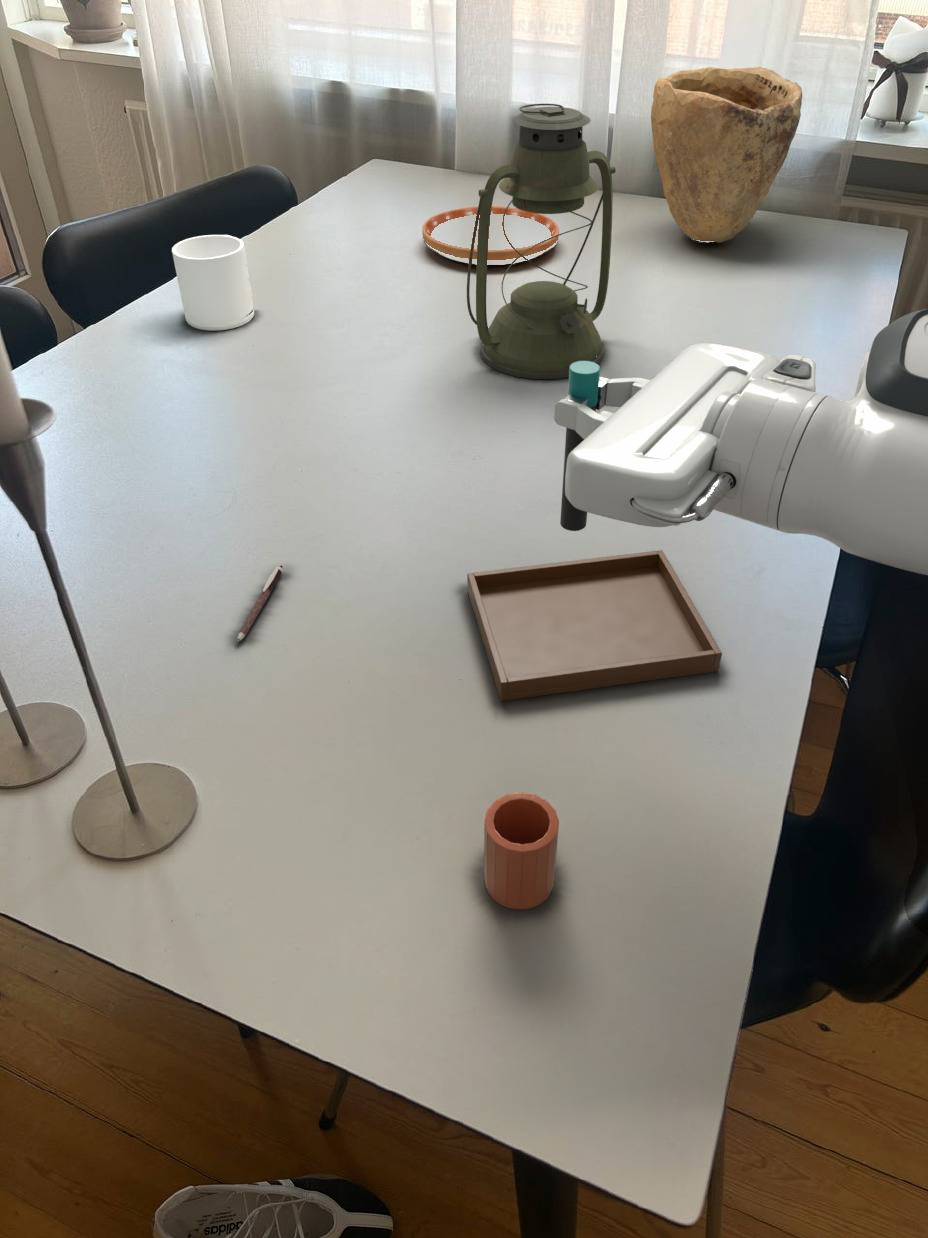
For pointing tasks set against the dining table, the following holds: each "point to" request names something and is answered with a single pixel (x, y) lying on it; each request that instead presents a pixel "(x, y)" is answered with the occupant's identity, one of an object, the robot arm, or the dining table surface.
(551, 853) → the pen cup
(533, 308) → the lantern
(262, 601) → the pen
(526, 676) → the tray
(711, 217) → the rough clay pot
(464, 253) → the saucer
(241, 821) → the dining table surface
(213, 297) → the mug
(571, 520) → the marker
